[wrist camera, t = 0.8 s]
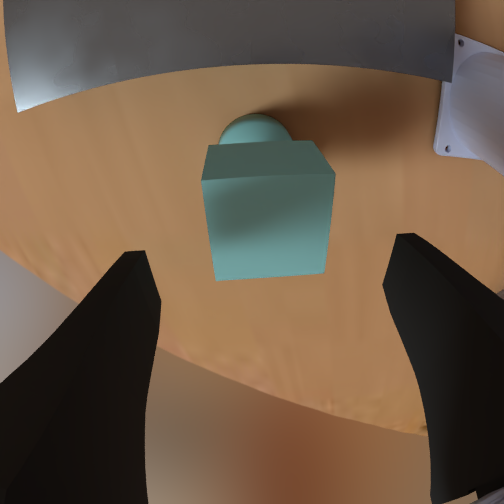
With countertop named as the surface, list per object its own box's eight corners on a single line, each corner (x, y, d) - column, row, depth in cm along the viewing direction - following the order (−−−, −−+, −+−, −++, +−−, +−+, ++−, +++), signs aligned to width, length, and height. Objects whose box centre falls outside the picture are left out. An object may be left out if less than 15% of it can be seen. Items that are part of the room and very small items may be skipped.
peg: (291, 112, 15) (335, 173, 9) (291, 179, 18) (324, 273, 12) (215, 116, 15) (201, 180, 9) (221, 183, 18) (215, 280, 12)
